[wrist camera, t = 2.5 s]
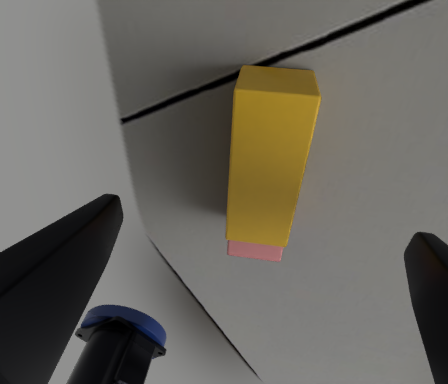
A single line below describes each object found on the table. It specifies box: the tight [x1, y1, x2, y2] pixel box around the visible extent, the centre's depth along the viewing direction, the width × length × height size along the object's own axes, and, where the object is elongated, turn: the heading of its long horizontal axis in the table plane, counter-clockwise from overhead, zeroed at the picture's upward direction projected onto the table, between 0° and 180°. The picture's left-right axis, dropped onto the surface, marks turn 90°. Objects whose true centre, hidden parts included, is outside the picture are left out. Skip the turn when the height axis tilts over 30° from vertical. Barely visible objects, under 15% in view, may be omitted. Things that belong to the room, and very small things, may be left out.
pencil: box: [225, 65, 321, 262], centre depth 12 cm, size 7×2×2 cm, turn 178°
